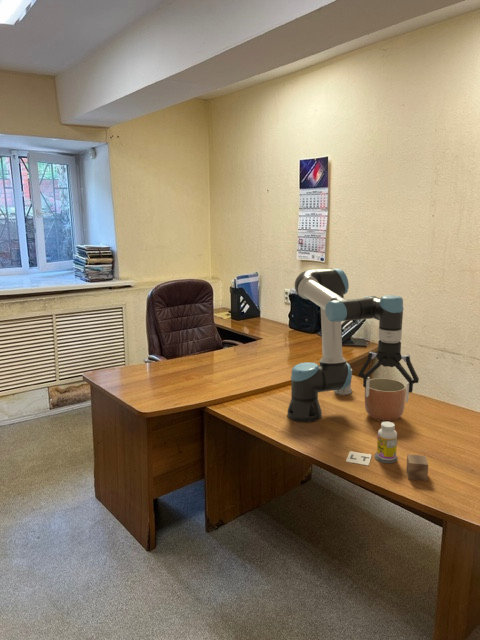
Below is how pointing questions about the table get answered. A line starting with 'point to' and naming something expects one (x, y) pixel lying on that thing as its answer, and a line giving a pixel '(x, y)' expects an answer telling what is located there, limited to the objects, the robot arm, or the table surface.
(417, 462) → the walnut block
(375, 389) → the planter
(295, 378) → the robot arm
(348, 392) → the cup
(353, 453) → the tile
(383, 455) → the supplement bottle
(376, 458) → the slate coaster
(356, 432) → the table surface
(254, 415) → the table surface
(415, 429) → the table surface
